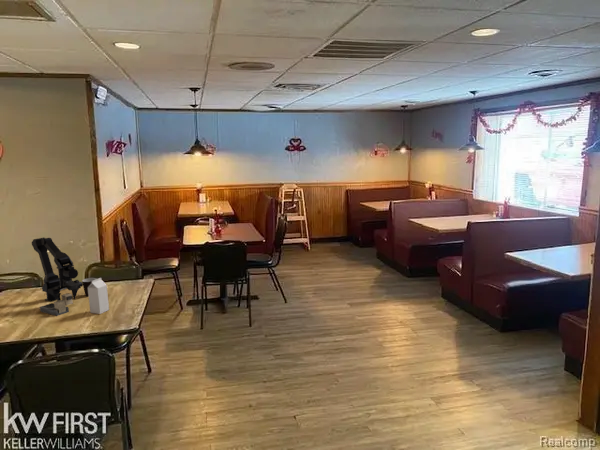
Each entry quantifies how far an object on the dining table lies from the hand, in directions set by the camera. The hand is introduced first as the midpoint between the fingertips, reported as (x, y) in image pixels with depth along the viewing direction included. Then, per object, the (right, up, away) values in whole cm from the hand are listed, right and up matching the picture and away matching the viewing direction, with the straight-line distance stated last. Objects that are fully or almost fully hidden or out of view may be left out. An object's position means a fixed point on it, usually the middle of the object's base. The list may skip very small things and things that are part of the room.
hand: (67, 301), depth 277 cm
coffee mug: (+7, +1, +18) cm, 19 cm away
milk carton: (+26, -4, -15) cm, 30 cm away
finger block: (0, -2, 0) cm, 2 cm away
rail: (-1, -4, -13) cm, 14 cm away
